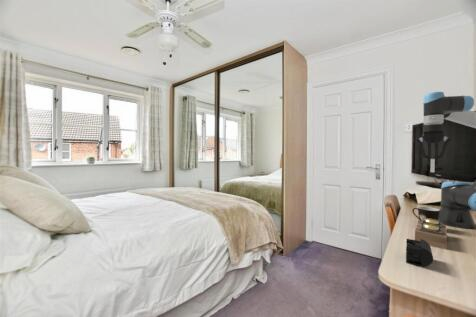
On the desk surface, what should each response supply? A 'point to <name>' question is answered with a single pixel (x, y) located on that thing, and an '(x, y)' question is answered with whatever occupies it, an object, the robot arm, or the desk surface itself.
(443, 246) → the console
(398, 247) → the desk surface
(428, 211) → the coffee mug
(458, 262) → the desk surface
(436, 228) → the knob
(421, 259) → the end cap
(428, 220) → the knob
